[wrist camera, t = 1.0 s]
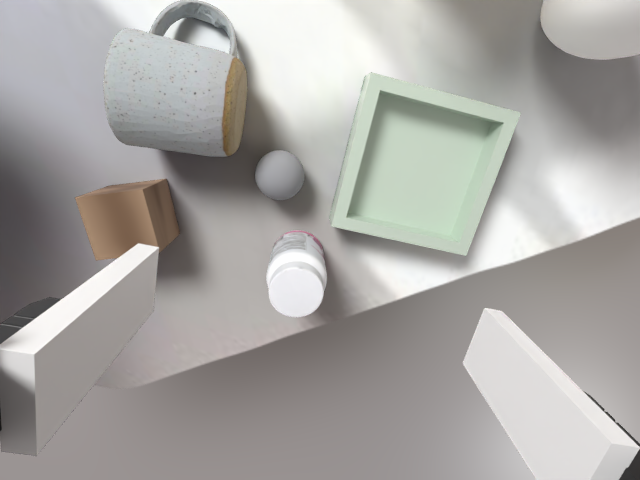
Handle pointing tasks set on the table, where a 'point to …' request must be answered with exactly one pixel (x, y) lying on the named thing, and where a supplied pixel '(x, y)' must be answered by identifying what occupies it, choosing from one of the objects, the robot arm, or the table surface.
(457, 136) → the tray
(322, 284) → the pill bottle
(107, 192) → the walnut block
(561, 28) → the sauce bottle
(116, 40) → the ceramic mug
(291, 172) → the rubber ball
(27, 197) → the table surface
